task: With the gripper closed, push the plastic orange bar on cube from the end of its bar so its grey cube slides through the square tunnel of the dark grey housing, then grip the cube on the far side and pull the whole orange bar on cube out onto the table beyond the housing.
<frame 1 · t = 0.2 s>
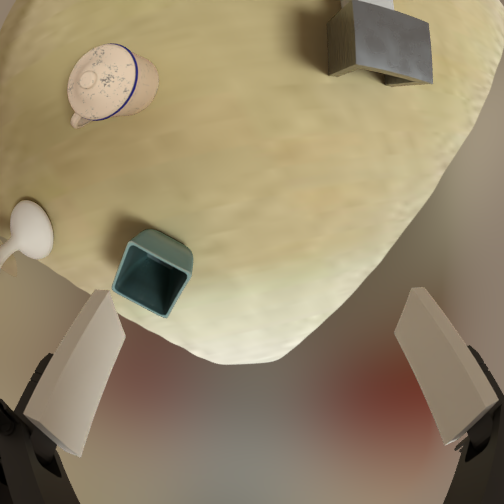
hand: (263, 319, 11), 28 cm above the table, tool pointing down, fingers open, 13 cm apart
teacup with lid: (123, 93, 30), on the table
flower pot: (165, 249, 41), on the table
flower in vase: (36, 221, 38), on the table
housing: (361, 54, 27), on the table
orange bar on cube: (359, 18, 25), on the table
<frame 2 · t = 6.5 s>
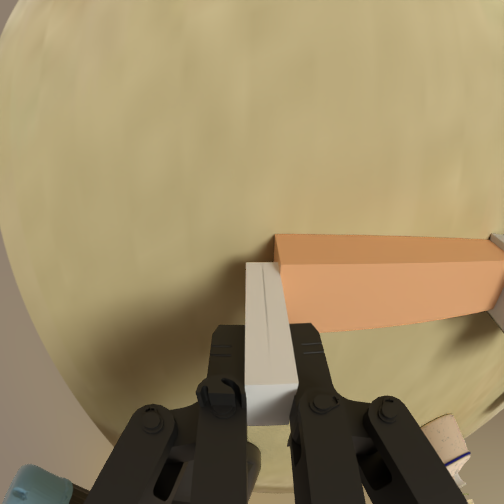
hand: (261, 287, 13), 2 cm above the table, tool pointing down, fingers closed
teacup with lid: (430, 428, 31), on the table
orange bar on cube: (501, 262, 15), on the table, touching gripper
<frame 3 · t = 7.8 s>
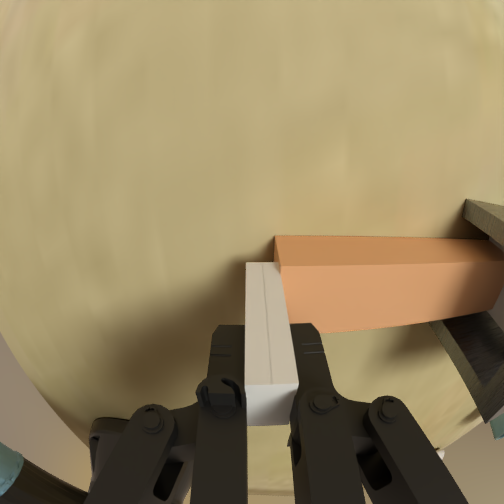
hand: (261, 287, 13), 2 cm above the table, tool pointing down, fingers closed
flower pot: (499, 390, 29), on the table
housing: (481, 264, 15), on the table
orange bar on cube: (500, 262, 15), on the table, touching gripper
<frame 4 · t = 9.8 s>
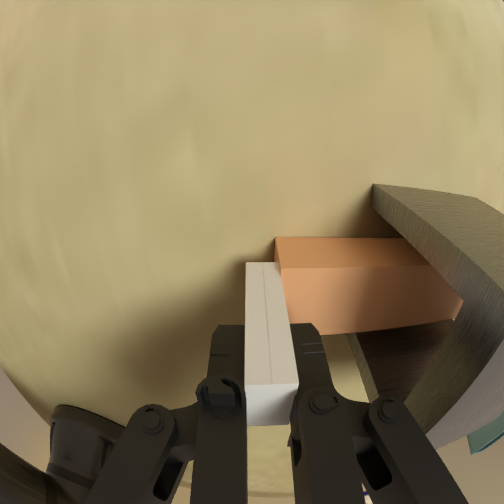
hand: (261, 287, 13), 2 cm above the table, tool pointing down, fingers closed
flower pot: (479, 400, 29), on the table
housing: (415, 264, 15), on the table
orange bar on cube: (501, 263, 15), on the table, touching gripper
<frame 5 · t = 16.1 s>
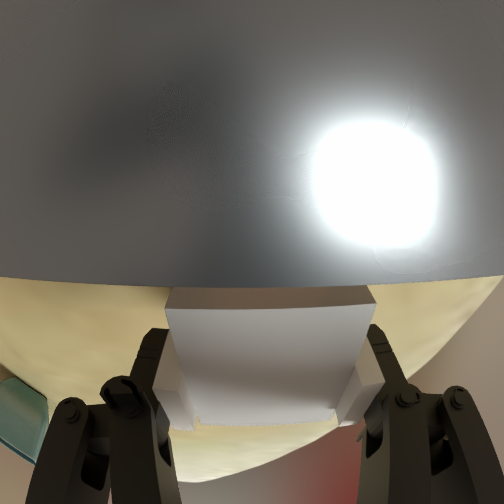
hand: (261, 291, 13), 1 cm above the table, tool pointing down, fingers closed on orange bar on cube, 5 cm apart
flower pot: (32, 392, 22), on the table
housing: (265, 50, 9), on the table
orange bar on cube: (262, 275, 13), point 1 cm above the table, touching gripper
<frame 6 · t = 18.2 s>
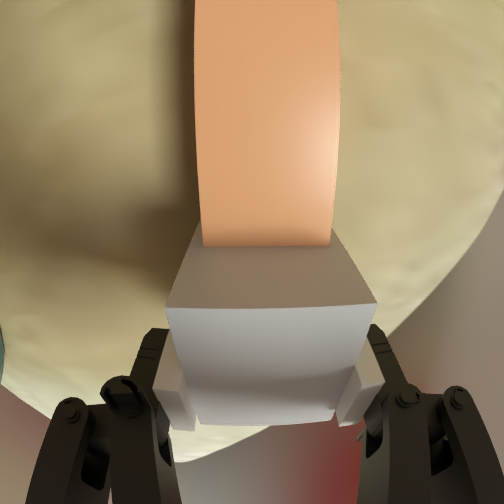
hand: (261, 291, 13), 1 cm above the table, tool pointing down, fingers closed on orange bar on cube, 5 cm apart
orange bar on cube: (262, 274, 13), point 1 cm above the table, touching gripper
when the fingers open (0 cm above the table, at t = 20.5 s): orange bar on cube stays where it is, on the table.
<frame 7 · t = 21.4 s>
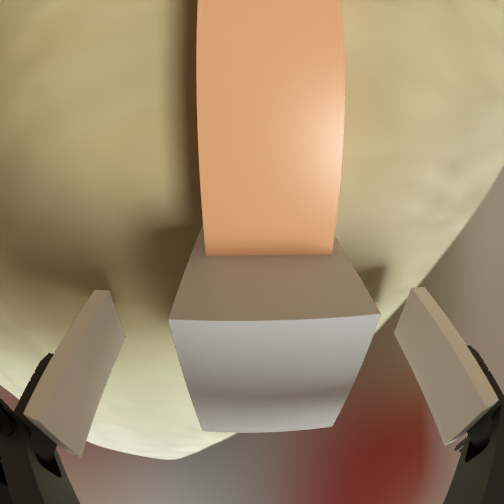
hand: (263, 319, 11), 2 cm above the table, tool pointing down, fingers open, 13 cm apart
orange bar on cube: (263, 281, 13), on the table
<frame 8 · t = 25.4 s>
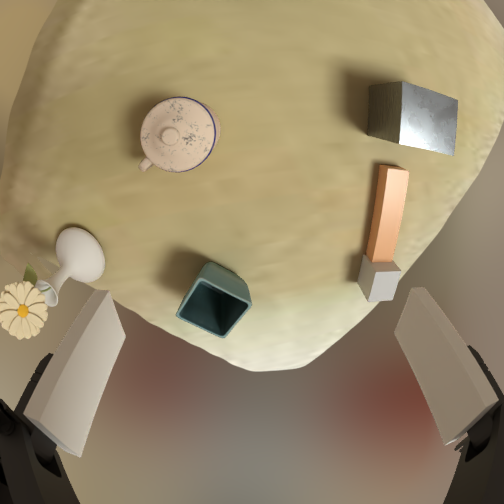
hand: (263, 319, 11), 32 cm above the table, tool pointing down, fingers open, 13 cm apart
teacup with lid: (183, 136, 37), on the table
flower pot: (218, 277, 48), on the table
flower in vase: (84, 247, 45), on the table
housing: (395, 115, 35), on the table
orange bar on cube: (372, 268, 48), on the table
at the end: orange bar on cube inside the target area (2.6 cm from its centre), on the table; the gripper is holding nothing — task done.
